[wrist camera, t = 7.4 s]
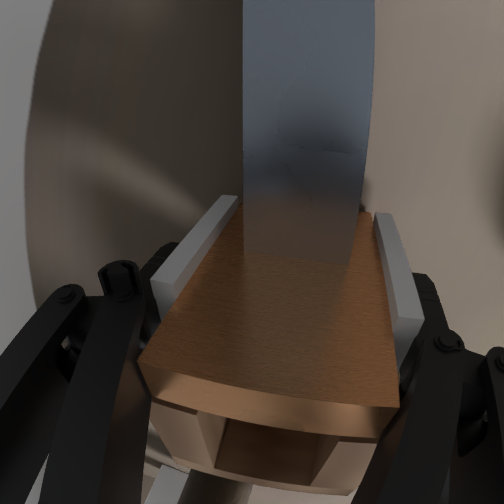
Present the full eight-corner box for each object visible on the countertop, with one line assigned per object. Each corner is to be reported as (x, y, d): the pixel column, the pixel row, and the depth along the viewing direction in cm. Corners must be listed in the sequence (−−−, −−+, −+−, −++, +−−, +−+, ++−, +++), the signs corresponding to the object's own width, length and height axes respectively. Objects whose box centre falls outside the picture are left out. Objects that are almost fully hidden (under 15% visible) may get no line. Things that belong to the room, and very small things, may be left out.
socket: (388, 292, 16) (403, 444, 8) (356, 378, 20) (347, 495, 13) (212, 268, 18) (137, 396, 10) (220, 357, 22) (176, 463, 15)
